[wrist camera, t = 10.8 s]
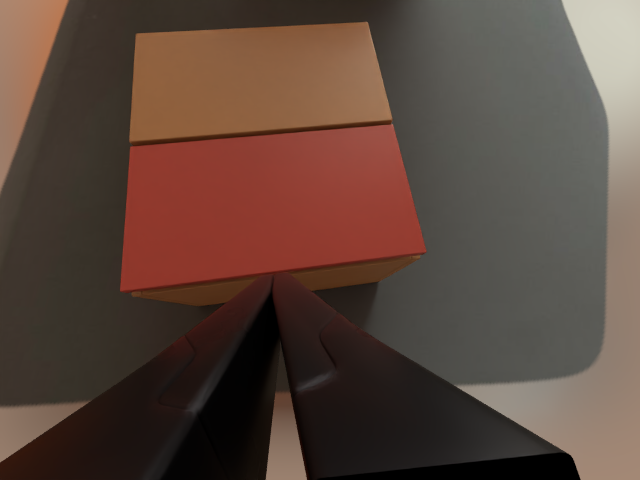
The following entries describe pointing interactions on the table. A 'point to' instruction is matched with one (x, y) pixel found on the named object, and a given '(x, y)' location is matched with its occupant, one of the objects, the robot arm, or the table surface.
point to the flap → (265, 206)
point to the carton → (258, 109)
